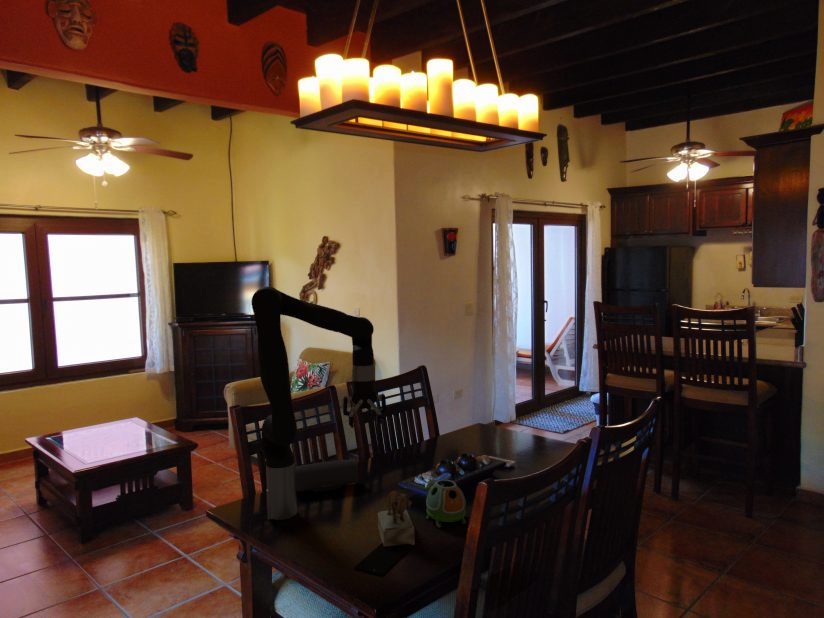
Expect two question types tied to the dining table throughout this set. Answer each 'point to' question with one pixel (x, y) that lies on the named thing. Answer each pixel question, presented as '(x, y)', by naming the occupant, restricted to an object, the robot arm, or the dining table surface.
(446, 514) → the turtle holder
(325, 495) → the dining table surface
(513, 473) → the dining table surface
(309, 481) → the bluetooth speaker
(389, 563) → the cell phone
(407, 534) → the plinth
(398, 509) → the lion figurine
